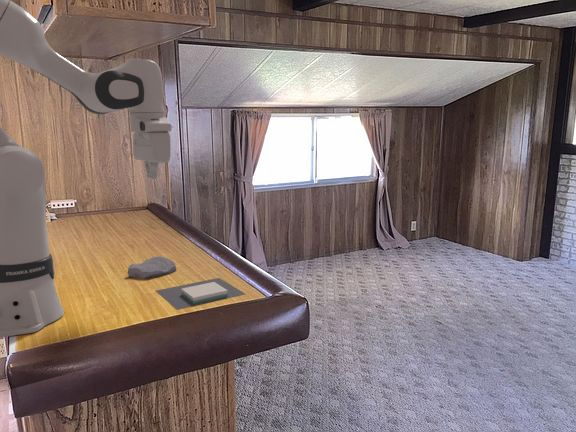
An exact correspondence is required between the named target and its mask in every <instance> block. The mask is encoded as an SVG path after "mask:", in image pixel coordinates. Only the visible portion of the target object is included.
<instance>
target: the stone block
mask: <svg viewBox="0 0 576 432" xmlns="http://www.w3.org/2000/svg"><path fill="white" fill-rule="evenodd" d="M176 271H177V265H176V263H175V262H174V261H173V260H171V259H169V258H168V257H165V256H157V255H156V256H153V257H150V258H147V259H146V260H144V261H143V262H141V263H136V264H135V263H132V264H130V265H129V266H128V269H127V275H128V276H129V277H130V278H132V279H138V278H140V279H142V280H144V279H148V278H149V279H150V278H155V277H160V276H163V275H168V274H172V273H173V272H176Z"/></svg>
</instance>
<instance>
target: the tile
mask: <svg viewBox="0 0 576 432" xmlns="http://www.w3.org/2000/svg"><path fill="white" fill-rule="evenodd" d="M181 292H182V295H183V296H184V297H185V298H187V299H188V300H189V301H190V302H192V303H193V304H197V303H201V302H205V301H210V300H214V299H219V298H223V297H227V296H228V290H226V289H225V288H223V287H222V286H220V285H218V284H217V283H215V282H211V283H206V284H201V285H197V286H192V287H187V288H182V289H181Z"/></svg>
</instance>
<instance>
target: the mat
mask: <svg viewBox="0 0 576 432" xmlns="http://www.w3.org/2000/svg"><path fill="white" fill-rule="evenodd" d="M211 282H215V283H217V284H218V285H220V286H222V287H223V288H225V289H226V290H228V296H227V297H223V298H219V299H214V300H210V301H205V302H201V303H197V304H193V303H192V302H190V301H189V300H188V299H187V298H185V297H184V296H183V295H182V292H181V289H182V288H187V287H192V286H197V285H201V284H206V283H211ZM155 292H156V293H157V294H158V295H159V296H161V297H162V298H163V299H164V300H166V301H167V302H168V304H170V305H171V306H172V307H173V308H174V309H176V310H178V311H179V310H183V309H186V308H192V307H195V306H201V305H204V304H208V303H213V302H217V301H222V300H226V299H230V298H231V299H232V298H234V297H238V296H243V295H246V293H245V292H243V291H242V290H240V289H239V288H237V287H235V286H233V285H231V284H230V283H228V282H226V281H225V280H224V279H222V278H220V277H217V278H212V279H211V278H210V279H208V280H207V279H206V280H200V281H197V282H191V283H187V284H182V285H177V286H172V287H167V288H162V289H157V290H155Z"/></svg>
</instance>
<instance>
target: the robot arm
mask: <svg viewBox="0 0 576 432" xmlns="http://www.w3.org/2000/svg"><path fill="white" fill-rule="evenodd" d="M0 56H2V57H4V58H6V59H9V60H11V61H14V62H16V63H17V64H20V65H23V66H25V67H27V68H29V69H31V70H33V71H36V72H37V73H38V74H40V75H42V76H43V77H45V78H47V79H48V80H50V81H52V82H53V83H54V84H57V85H58V86H60V87H61V88H63V89H65V90H66V91H68V92H69V93H70V94H71V95H73V97H74V98H75V99H76V100H77V102H78V103H79V104H80V105H81V106H82V107H83V108H84V109H85V110H86V111H88V112H90V113H91V114H95V115H106V114H109V113H112V112H119V111H122V110H123V111H124V110H125V109H127V110H128V113H129V124H130V126H129V127H130V132H131V133H132V134H133V135H132V150H133V151H132V153H133V158H134V159H135V160H138V161H143V164H144V168H145V170H146V177H147V179H150V180H156V179H157V178H158V169H159V163H161V164H162V163H169V162H170V160H171V148H172V147H171V135H170V132H172V123H171V122H170V121H169V120H168V119H167V117H166V110H165V106H164V98H165V88H164V81H163V74H162V71H161V68H160V66H159V64H158V63H157V62H155V61H154V60H151V59H148V58H144V57H130V58H129V59H128V60H126V61H125V62H124V63H122V64H120V65H118V66H115V67H113V68H110V69H107V70H102V71H100V72H97V73H94V72H93V73H92V72H89V71H86V70H83V69H82V68H80V67H79V66H78V65H76V64H74V63H73V62H71V61H69V60H68V59H67V58H65V57H64V56H62V55H60V54H59V53H58V52H56V51H55V50H54V49H53V48H52V47H51V45H50V44H49V43H48V41H47V39H46V36H45V32H44V29H43V27H42V24H41V23H40V22H39V21H38V20H37V19H36V18H35V17H34V16H33V15H32V14H30V13H29V12H28V11H27V10H26V9H24V8H23V7H21V6H20V5H19V4H17V3H15V2H14V1H12V0H0ZM46 186H47V185H46V171H45V166H44V163H43V162H42V160H41V158H40V157H39V155H37V154H36V153H35V152H33V150H31V149H28V148H26V147H23V146H21V145H20V144H19V143H17V142H16V140H15V139H14V138H12V137H11V136H10V134H8V133H7V131H6V130H4V128H3V127H1V126H0V338H6V337H13V336H19V335H26V334H31V333H32V334H33V333H36V332H38V331H40V330H42V329H43V328H44V327H45V326H48V325H49V324H51V323H53V322H55V321H57V320H59V319H60V318H61V317H62V316H64V313H65V310H64V307H63V306H62V304H61V301H60V298H59V295H58V292H57V288H56V285H55V281H54V280H55V265H54V264H55V263H54V259H53V255H52V254H51V253H50V246H49V239H48V238H49V236H48V229H47V219H46V218H47V214H46V213H47V191H46Z"/></svg>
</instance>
